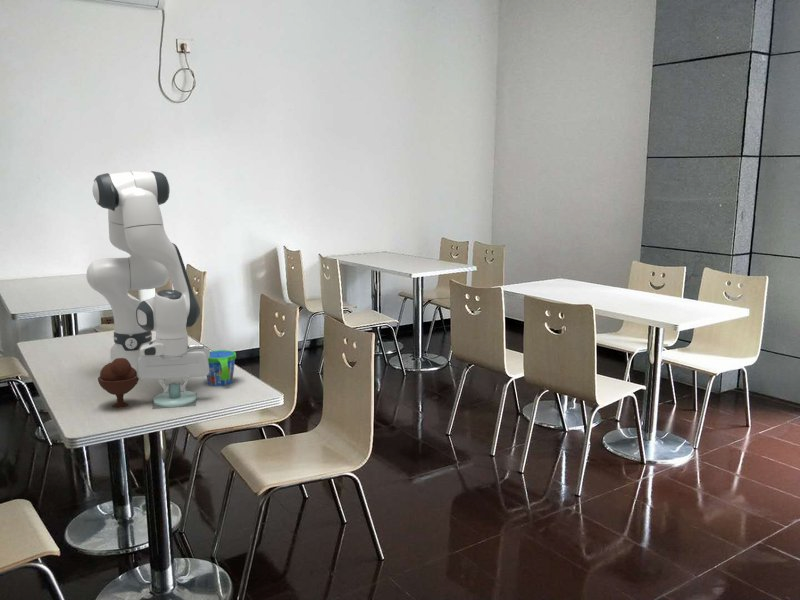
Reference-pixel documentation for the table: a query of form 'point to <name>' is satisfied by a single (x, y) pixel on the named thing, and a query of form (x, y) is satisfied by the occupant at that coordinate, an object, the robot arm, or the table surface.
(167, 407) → the mat
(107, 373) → the ice cream bowl
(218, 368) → the snack cup
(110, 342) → the table surface
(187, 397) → the lid
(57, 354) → the table surface
